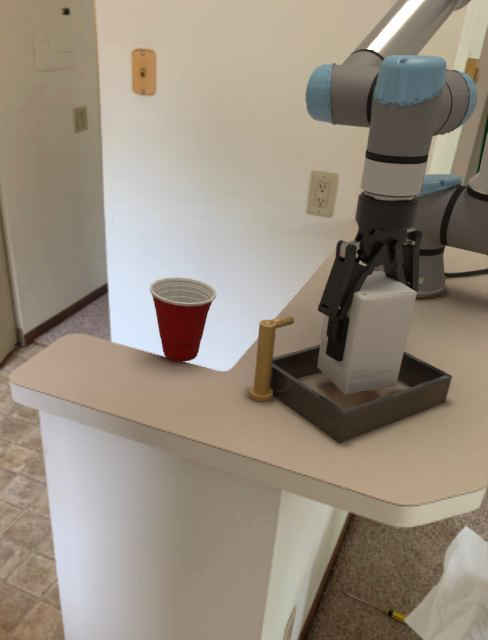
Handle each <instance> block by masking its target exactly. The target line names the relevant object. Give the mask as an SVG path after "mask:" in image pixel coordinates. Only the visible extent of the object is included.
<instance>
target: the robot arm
mask: <svg viewBox="0 0 488 640" xmlns="http://www.w3.org/2000/svg"><path fill="white" fill-rule="evenodd" d="M471 1H472V0H397V1H396V2H395V3H394V4H393V6H392V7H391V8H390V9H389V10H388V11H387V12H386V14H385V15H384V16H383V17H382V18H381V19H380V20H379V22H378V23H377V24H376V25H375V26H374V27H373V28H372V29H371V30H370V32H369V33H367V35H366V36H365V37H364V39H362V41H361V42H360V43H359V44H358V46H357V47H356V48H355V49H354V50H353V51H352V52H351V53H350V54H349V56H347V58H346V59H345V60H344V61H343V62H342V63H340V64H337V63H335V62H332V63H329V64H321V65H318V66H317V67H316V68H315V69H314V70H313V71H312V73H311V75H310V76H309V79H308V82H307V85H306V89H305V105H306V111H307V114H308V115H309V116H310V118H311V119H313V120H314V121H317V122H323V123H328V124H331V125H333V126H336V125H339V126H346V127H347V126H349V127H359V128H368V129H369V130H368V137H367V144H366V149H365V152H364V153H365V156H364V162H363V168H362V175H361V181H360V186H359V187H360V189H361V190H362V192H361V193H360V194H358V196H357V204H356V210H355V215H354V216H355V217H354V219H355V223H356V224H357V227H358V230H357V233H356V235H355V237H354V239H353V240H348V241H346V240H342V239H339V240H338V241H337V243H336V247H335V256H334V257H335V258H334V260H333V264H332V266H331V270H330V272H329V276H328V277H327V281H326V283H325V287H324V290H323V292H322V295H321V297H320V301H319V304H318V306H317V311H318V313H321V314H322V315H324V314H325V315H326V316H328V317H329V319H328V326H327V332H326V334H327V337H328V341H327V348H326V355H328V356H330V357H331V358H333V359H335V360H336V361H338V362H340V361H343V355H344V349H345V343H346V337H347V331H348V325H349V318H347V317H345V316H346V314H347V312H348V311H349V309H350V307H351V305H352V300H353V295H354V293H355V292H358V291H360V289H361V287H362V285H363V283H364V282H365V280H366V278H367V276H368V275H371V274H372V273H373V271H383V272H385V275H386V276H387V277H389V278H392V279H394V280H396V281H398V282H401V283H403V284H404V285H406V286H408V287H409V288H411V289H412V290H414V291H416V292H417V295H416V299H431V298H436V297H439V296H440V295H442V294H443V293H444V291H445V287H446V278H447V277H449V278H452V277H453V278H454V277H465V276H472V275H479V274H486V273H488V268H482V269H477V270H470V271H461V272H445V262H444V261H445V260H444V253H445V249H446V247H450V248H453V249H454V248H455V249H459V250H464V251H469V252H472V253H476V254H481V255H486V257H488V133H487V135H486V140H485V144H484V148H483V152H482V158H481V162H480V167H479V172H478V173H477V174H475V175H474V176H472V177H471V178H470V179H469V180H468V182H467V186H466V185H462V184H463V179H462V176H460V175H455V174H449V173H431V174H429V173H428V174H426V170H427V166H428V161H429V154H430V150H431V146H432V141H433V137H435V136H443V135H444V136H445V135H446V134H450V133H451V132H454V131H455V130H457V129H458V128H460V127H462V126H463V125H465V124H466V123H467V122H468V121H469V120H470V118H471V117H472V115H473V114H474V112H475V110H476V107H477V105H478V89H477V85H476V83H475V81H474V80H473V78H472V77H471V76H470V75H469V74H468V73H466V72H464V71H460V70H457V69H448V68H447V66H448V65H447V61H446V59H445V58H443V57H442V56H437V55H435V56H434V55H419V54H420V52H421V51H422V50H423V49H424V48H425V47H426V45H427V44H428V43H429V42H430V41H431V39H432V38H433V37H434V36H435V34H436V33H437V32H438V31H439V30H440V28H441V27H442V26H443V25H444V24H445V23H446V21H447V20H448V19H449V17H450V16H451V15H452V14H453V13H454V12H456V11H459V10H461V9H463V8H464V7H466V6H467V5H468V4H469V3H470V2H471ZM360 262H361V263H362V264H361V263H360ZM339 306H340V309H339Z"/></svg>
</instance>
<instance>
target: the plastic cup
mask: <svg viewBox="0 0 488 640" xmlns="http://www.w3.org/2000/svg"><path fill="white" fill-rule="evenodd" d="M149 292H150V294H151V297H152V301H153V304H154V310H155V315H156V321H157V327H158V333H159V338H160V342H161V348H162V353H163V355H164V357H165V358H166V359H167V360H169V361H172V362H176V363H177V362H178V363H179V362H180V363H181V362H182V363H185V362H189V361H190V362H191V361H193V360H195V359H196V358H197V357H198V354H199V351H200V346H201V342H202V339H203V335H204V331H205V327H206V322H207V318H208V314H209V311H210V309H211V306H212V304H213V302H214V300H215V299H216V298H217V290H216V289H215V288H214V287H213V286H212V285H211V284H208V283H206V282H204V281H201V280H197V279H193V278H189V277H177V276H176V277H175V276H174V277H164V278H161V279H156V280H154V282H151V284H150V285H149Z"/></svg>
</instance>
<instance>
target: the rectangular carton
mask: <svg viewBox="0 0 488 640" xmlns="http://www.w3.org/2000/svg"><path fill="white" fill-rule="evenodd" d="M416 295H417V292H416V291H414V290H412V289H411V288H409V287H408V286H406V285H404V284H403V283H401V282H398V281H396V280H394V279H392V278H389V277H387V276H386V275H385V272H383V271H373V273H372V274H371V275H368V276H367V278H366V280H365V282H364V283H363V285H362V287H361V289H360V291H358V292H355V293H354V295H353V300H352V305H351V307H350V309H349V311H348V312H347V314H346V316H345V317H347V318H349V325H348V331H347V337H346V343H345V349H344V355H343V361H340V362H338V361H336V360H335V359H333V358H331V357H330V356H328V355H326V348H327V341H328V337H327V334H326V332H327V326H328V319H329V317H328V316H326V315H325V314H323V323H322V330H321V338H320V344H319V345H320V351H319V358H318V365H317V367H318V368H319V369H320V371H321V373H323V374H324V375H325V376H326V377H327V379H329V380H330V382H332V383H333V384H334V385H335V386H336V387H337V389H339V390H340V391H341V393H342V394H344V395H348V394H353V393H360V392H367V391H373V390H379V389H385V388H386V389H387V388H393V387H394V388H395V387H397V385H398V384H397V383H398V380H399V379H398V375H399V371H400V366H401V362H402V357H403V353H404V351H405V347H406V343H407V339H408V335H409V331H410V330H409V329H410V326H411V321H412V316H413V312H414V308H415V303H416V299H417V298H416ZM339 309H340V306H339Z"/></svg>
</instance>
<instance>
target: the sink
mask: <svg viewBox="0 0 488 640" xmlns="http://www.w3.org/2000/svg"><path fill="white" fill-rule="evenodd" d="M294 323H295V317H294V316H293V315H291V314H289V315H284V316H280V317H277V318H272V319H263V320H260V321H259V323H258V335H257V347H256V357H255V367H254V368H255V369H254V379H253V386H251V387H250V388H249V390H248V396H249V398H250V399H252V400H253V401H256V402H269V401H271V400H272V399H273V398H274V397H276V398H277V399H279V400H280V401H281V402H282V403H284V404H285V405H287V406H288V407H289V408H290V409H292V410H293V411H295V412H296V413H297V414H299V415H301V416H302V418H304V419H306V420H307V421H308V422H310V423H311V424H313V425H314V426H316V427H317V428H318V429H320V430H321V431H323V432H324V433H325V434H327V435H328V436H330V437H331V438H332V439H333V440H335V441H337V442H338V443H339V444H341V443H343V442H346V441H348V440H351V439H353V438H356V437H358V436H361V435H363V434H366V433H369V432H371V431H374V430H376V429H379V428H382V427H384V426H386V425H389V424H392V423H394V422H397V421H399V420H403V419H404V418H406V417H409V416H412V415H414V414H417V413H419V412H422V411H425V410H427V409H430V408H433V407H435V406H438V405H440V404H443V403H446V400H447V397H448V393H449V389H450V387H451V384H452V383H451V382H452V379H453V375H452V374H449V373H447V372H445V371H444V370H442V369H440V368H438V367H436V366H434V365H432V364H431V363H428V362H426V361H424V360H422V359H421V358H418V357H416V356H414V355H412V354H410V353H408V352H407V351H405V350H404V353H403V357H402V362H401V366H400V371H399V375H398V380H400V381H401V382H402V383H404V384H407V385H409V386H410V387H408V388H405V389H402V390H394V391H392V392H390V394H388V395H385V396H383V397H380V398H377V399H374V400H372V401H368V402H366V403H364V404H363V403H362V404H361V405H358V406H355V407H353V408H349V409H347V410H344V408H343V409H342V408H341V407H340V406H338V405H337V404H335V403H334V402H332V401H331V400H329V399H328V398H327V397H325V396H323V395H322V394H321V393H319V392H317V391H316V390H314V389H313V388H311V387H310V386H308V385H307V384H305V383H304V382H302V381H301V380H299V379H298V378H301V377H303V376H307V375H311V374H313V373H317V372H320V371H321V370H320V369H319V368H318V367H317V365H318V358H319V351H320V344H317V345H313V346H309V347H306V348H303V349H299V350H296V351H292V352H289V353H285V354H282V355H279V356H274V351H275V343H276V341H275V340H276V333H277V329H280V328H283V327H287V326H291V325H293V324H294Z"/></svg>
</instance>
